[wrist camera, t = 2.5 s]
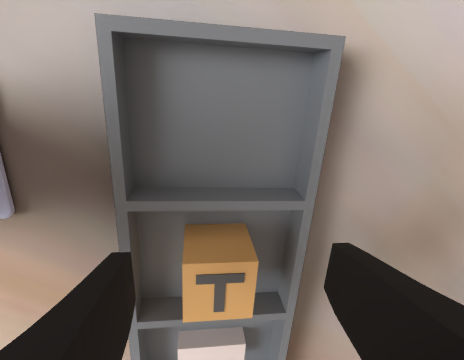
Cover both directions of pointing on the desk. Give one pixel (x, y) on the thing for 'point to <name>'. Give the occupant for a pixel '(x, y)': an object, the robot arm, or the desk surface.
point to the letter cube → (218, 272)
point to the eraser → (212, 344)
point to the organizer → (214, 160)
